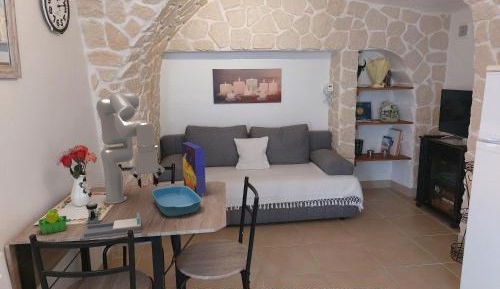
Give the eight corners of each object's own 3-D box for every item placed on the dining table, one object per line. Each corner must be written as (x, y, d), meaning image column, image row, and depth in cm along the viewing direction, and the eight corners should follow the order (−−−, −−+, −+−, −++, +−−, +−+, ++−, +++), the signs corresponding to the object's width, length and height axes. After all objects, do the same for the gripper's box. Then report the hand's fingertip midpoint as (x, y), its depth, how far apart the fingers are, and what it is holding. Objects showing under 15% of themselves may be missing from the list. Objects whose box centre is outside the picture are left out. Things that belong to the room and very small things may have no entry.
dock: (85, 228, 165) (84, 224, 164) (141, 221, 172) (141, 217, 171) (79, 240, 153) (79, 235, 152) (141, 232, 159) (140, 228, 159)
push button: (102, 219, 176) (100, 200, 174) (102, 223, 171) (100, 203, 169) (87, 221, 173) (85, 202, 171) (87, 225, 168) (85, 205, 166)
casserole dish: (206, 214, 181) (206, 201, 180) (163, 222, 171) (163, 208, 170) (186, 194, 213) (185, 183, 212) (148, 200, 204) (148, 188, 202)
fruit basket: (67, 225, 169) (65, 202, 167) (67, 231, 161) (65, 208, 159) (40, 229, 164) (37, 207, 162) (39, 237, 156) (36, 213, 154)
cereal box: (184, 188, 224) (181, 142, 219) (192, 187, 227) (190, 141, 222) (196, 198, 206) (194, 148, 200) (205, 196, 209) (204, 147, 203)
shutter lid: (114, 221, 166) (114, 214, 166) (141, 218, 170) (140, 211, 169) (112, 229, 158) (112, 222, 157) (140, 226, 161) (140, 219, 160)
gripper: (164, 146, 166) (166, 182, 169) (126, 148, 161) (129, 186, 165) (165, 149, 159) (167, 187, 162) (125, 151, 154) (128, 190, 157)
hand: (148, 186), depth 163 cm, fingers open, 6 cm apart
